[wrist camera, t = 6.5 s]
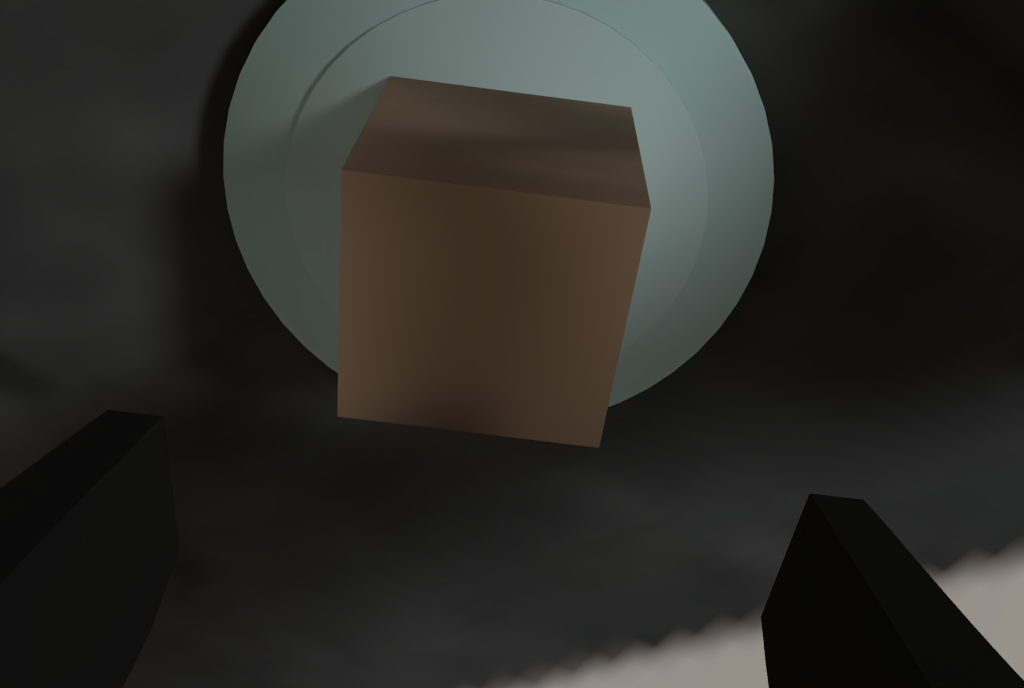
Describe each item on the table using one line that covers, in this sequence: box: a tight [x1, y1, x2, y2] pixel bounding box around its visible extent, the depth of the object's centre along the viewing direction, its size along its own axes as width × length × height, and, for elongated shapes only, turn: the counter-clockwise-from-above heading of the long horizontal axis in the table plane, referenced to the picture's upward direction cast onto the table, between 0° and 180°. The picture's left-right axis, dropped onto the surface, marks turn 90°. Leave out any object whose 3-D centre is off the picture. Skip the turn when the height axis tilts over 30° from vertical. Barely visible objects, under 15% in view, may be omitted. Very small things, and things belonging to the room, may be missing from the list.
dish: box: [223, 0, 774, 407], centre depth 19 cm, size 11×11×1 cm
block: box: [337, 76, 651, 448], centre depth 16 cm, size 4×4×4 cm
